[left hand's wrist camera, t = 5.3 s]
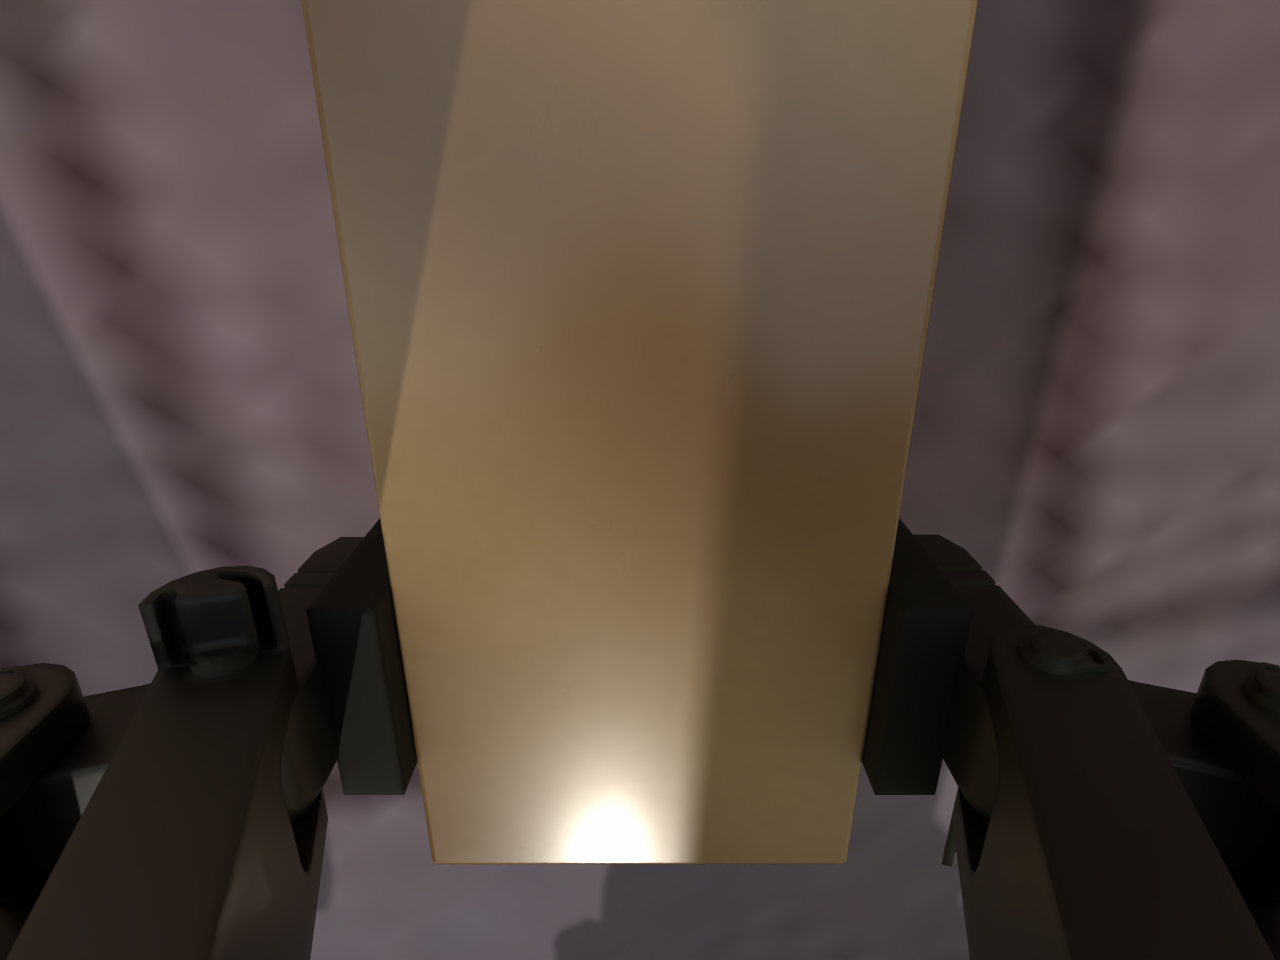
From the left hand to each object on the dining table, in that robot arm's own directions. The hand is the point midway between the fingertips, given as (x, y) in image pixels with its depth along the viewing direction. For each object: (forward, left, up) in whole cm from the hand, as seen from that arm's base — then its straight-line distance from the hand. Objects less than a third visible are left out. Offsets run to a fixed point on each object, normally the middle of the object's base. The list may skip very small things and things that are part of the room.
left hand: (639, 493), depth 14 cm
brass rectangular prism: (+5, -3, -3) cm, 7 cm away
